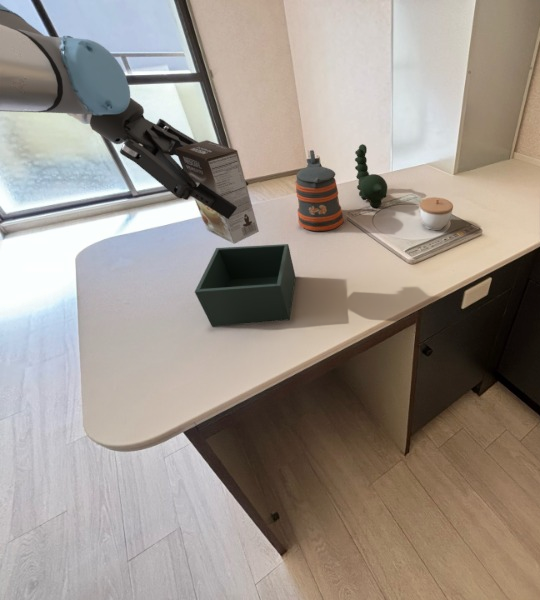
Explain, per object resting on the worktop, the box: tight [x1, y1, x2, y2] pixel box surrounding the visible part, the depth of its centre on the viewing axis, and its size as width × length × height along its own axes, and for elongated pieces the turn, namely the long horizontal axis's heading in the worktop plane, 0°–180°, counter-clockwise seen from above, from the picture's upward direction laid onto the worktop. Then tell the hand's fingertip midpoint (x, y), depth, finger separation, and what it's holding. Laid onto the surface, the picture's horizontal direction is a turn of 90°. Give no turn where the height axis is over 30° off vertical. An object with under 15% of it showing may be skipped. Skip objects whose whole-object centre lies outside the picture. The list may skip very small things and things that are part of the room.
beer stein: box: [295, 149, 344, 232], centre depth 105 cm, size 19×15×20 cm
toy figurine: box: [354, 143, 388, 208], centre depth 118 cm, size 9×19×25 cm
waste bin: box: [194, 243, 296, 328], centre depth 75 cm, size 17×17×10 cm
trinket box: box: [419, 196, 454, 231], centre depth 107 cm, size 11×11×9 cm
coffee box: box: [175, 139, 260, 244], centre depth 61 cm, size 9×6×16 cm
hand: (239, 200), depth 63 cm, fingers closed on coffee box, 10 cm apart
